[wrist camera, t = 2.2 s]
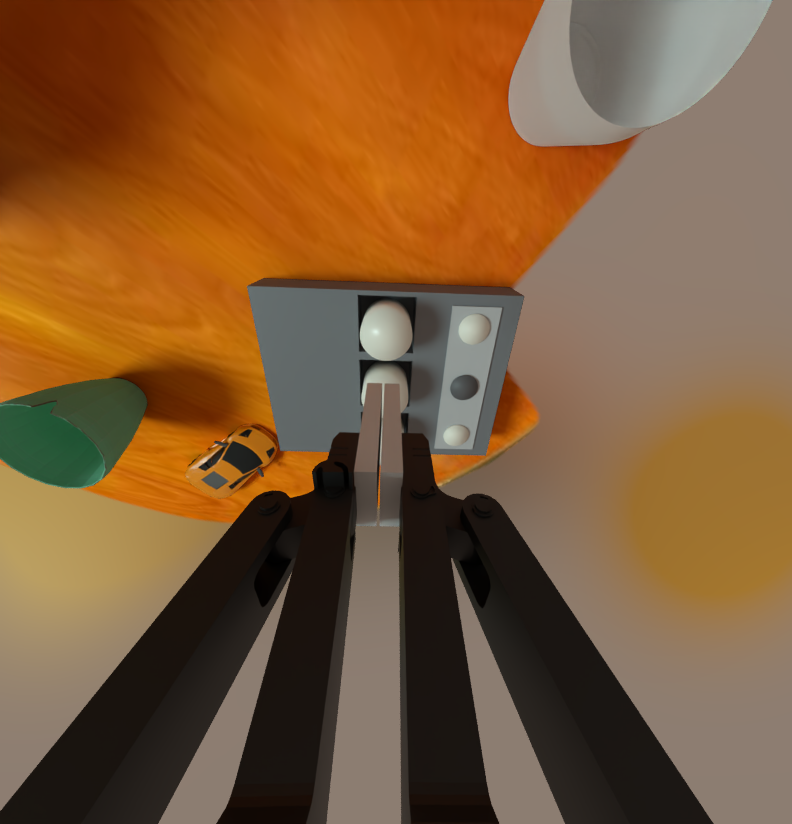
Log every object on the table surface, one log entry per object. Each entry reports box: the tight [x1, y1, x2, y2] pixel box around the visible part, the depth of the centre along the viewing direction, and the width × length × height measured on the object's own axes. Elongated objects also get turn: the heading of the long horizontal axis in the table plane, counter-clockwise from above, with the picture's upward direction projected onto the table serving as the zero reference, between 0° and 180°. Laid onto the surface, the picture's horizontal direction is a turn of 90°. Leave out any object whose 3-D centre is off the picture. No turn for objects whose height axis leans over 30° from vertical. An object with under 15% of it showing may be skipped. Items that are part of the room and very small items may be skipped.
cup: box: [508, 0, 773, 146], centre depth 18 cm, size 9×9×12 cm
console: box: [247, 278, 524, 455], centre depth 33 cm, size 24×18×4 cm
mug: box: [0, 378, 147, 488], centre depth 33 cm, size 15×10×10 cm
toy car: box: [185, 424, 278, 499], centre depth 41 cm, size 7×13×3 cm, turn 126°
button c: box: [360, 298, 412, 361], centre depth 28 cm, size 4×4×4 cm
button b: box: [361, 361, 408, 418], centre depth 31 cm, size 4×4×4 cm
